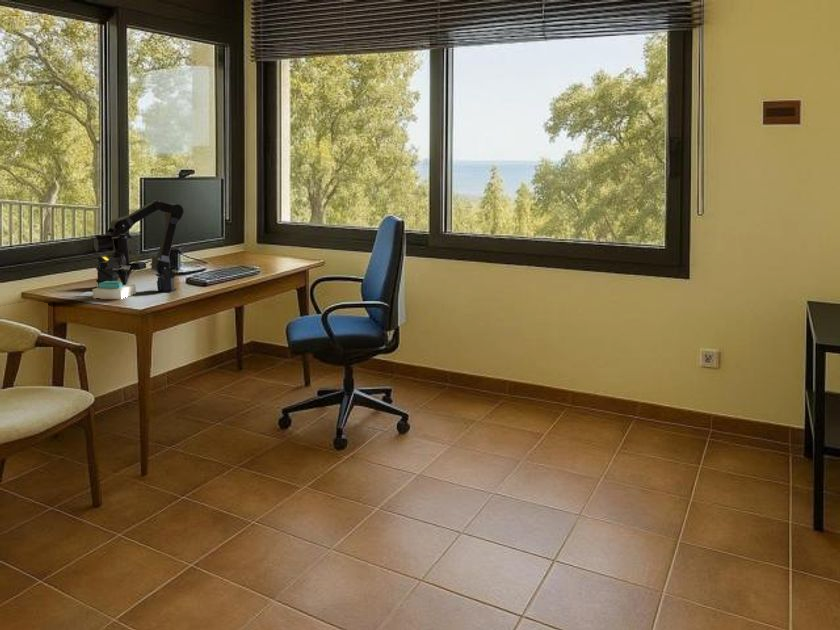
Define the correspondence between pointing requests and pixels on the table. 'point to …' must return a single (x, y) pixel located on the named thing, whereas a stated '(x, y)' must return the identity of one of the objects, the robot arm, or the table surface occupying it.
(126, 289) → the white flat block
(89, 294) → the mat
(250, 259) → the table surface
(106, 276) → the black stepped slab
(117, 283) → the turquoise slab
